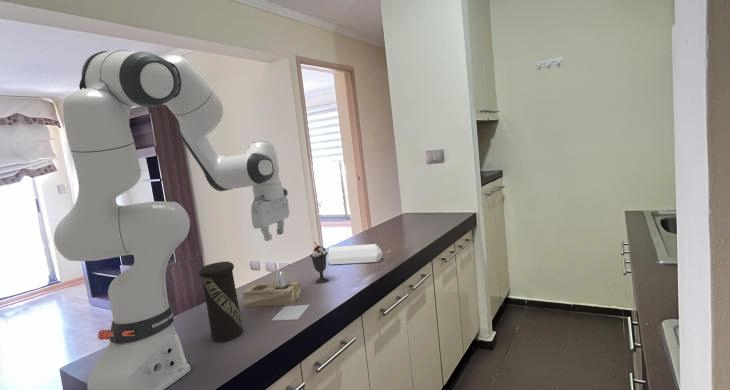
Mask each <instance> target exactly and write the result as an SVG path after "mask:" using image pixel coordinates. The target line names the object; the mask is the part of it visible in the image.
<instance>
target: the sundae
mask: <svg viewBox="0 0 730 390" xmlns="http://www.w3.org/2000/svg"><path fill="white" fill-rule="evenodd" d="M314 244H315V247H314V249H313V251H312V253H311V254H310V255H309V257H310V258H311V260H312V263H313V264H312V265H313V267H314V269H315V271H317V272H318V273H319V279H317V280H315V284H325V283H327V282H329V281H330V279H329V278H325V277H324V274H323V273H324V271H325V270H326V268H327V254H328V251H326V248H325V247H323V246H320V245H318V244H317V242H314Z"/></svg>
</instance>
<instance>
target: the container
mask: <svg viewBox="0 0 730 390" xmlns="http://www.w3.org/2000/svg"><path fill="white" fill-rule="evenodd" d="M234 268H235V265H234V262H233V263H232V261H219V262H213V263H210V264H206V265H204V266H202V267H201V268H200V269H199V271H198V274H199V276H200V277H201V281H202V282H201V283H202V286H203V287H202V288H203V292H204V298H205V303H206V304H205V305H206V310H207V316H208V322H209V329H210V335H211V340H212V342H213V343H227V342H231V341H233V340H236V339H237V338H239V337H240V336H242V334H243V333H244V328H243V321H242V315H241V312H240V311H241V310H240V306H239V300H238V294H237V289H236V288H237V287H236V284H235V278H234V273H233V271H234Z"/></svg>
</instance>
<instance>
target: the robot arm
mask: <svg viewBox="0 0 730 390" xmlns="http://www.w3.org/2000/svg"><path fill="white" fill-rule="evenodd" d="M78 86H79V89H78V90H76V91H73V92H71V93H70V94H68V95H67V96H66V97H65V98H64V100H63V103H62V113H63V114H62V115H63V123H64V128H65V130H64V131H65V135H66V139H67V143H68V147H69V150H70V153H71V158H72V160H73V161H72V162H73V165H74V168H75V171H76V177H77V182H78V194H77V198H76V202H74V205H73V207H72V208H71V209H70V211H69V212H68V213H67V215H65V216H64V217H63V218H62V219H60V221H59V223H58V224H57V225H56V228H55V231H54V234H53V235H54V236H53V242H54V245H55V248H56V250H57V251H58V252H59V254H60V255H61V256H62V257H63V258H65V259H67V260H68V261H70V262H93V261H102V260H107V259H113V258H119V257H124V256H130V255H131V256H133V259H134V261H133V264H132V266H130V267H129V268H126V270H124V271H123V272H121V273H120V274H118V275H117V276H115V278H113V280H112V281H111V282H110V284H109V286H108V289H107V293H108V294H107V295H108V300H109V305H110V310H111V314H112V319H113V320H112V321H111V327H110V329H100V330H99V332H98V333H97V339H98V340H99V341H103V340H105V341H106V340H107V341H108V340H109V343H108V345H107V347H106V349H105V350H104V351H103V353H102V355H100V358H99V359H98V361H97V362H96V364H95V366H94V367H93V368H92V370H91V372H90V373H89V375H88V376H87V386H86V387H87V390H165V389H167V388H168V387H169V386H171V385H173V384H174V383H176V382H177V381H178V380H179V379H181V378H182V377H184V376H185V375H186V374H188V373H190V371H191V370H192V368H191V366H190V364H189V362H188V360H187V358H186V355H185V352H184V349H183V347H182V343H181V340H180V337H179V334H178V333H177V331H176V329H175V327H174V324H173V323H174V321H175V319H174V312H173V309H172V306H171V304H169V298H168V292H167V283H166V281H167V280H166V272H167V267H168V264H169V261H170V258H171V257H172V255H173V254H174V252H175V250H176V249H177V247H178V246H179V245H181V244H182V243H183V242H184V240H185V239H186V238H187V236H188V234H189V232H190V227H191V221H190V216H189V214H188V212H187V211H186V209H185V208H184V207H183V206H182V205H181V204H179V203H178V201H177V202H176V201H163V200H161V201H157V200H155V201H146V202H139V203H134V204H126V205H118V203H117V198H118V197H119V196H121V195H123V194H125V193H126V192H128V191H129V190H131V189H132V188H134V186H136V185H137V184H138V182H139V181H140V179H141V177H142V169H141V165H140V161H139V157H138V154H137V149H136V144H135V141H134V136H133V133H132V129H131V127H130V114H131V112H132V109H133V107H144V108H155V107H158V106H162V105H164V104H165V106H166V107H167V108H168V109H169V110H170V111H171V113H172V114H173V115H174V116H175V118H176V119H177V121H178V124H177V130H178V134H179V136H180V138H181V140H182V141H183V143H184V146H186V148H187V150H188V151H189V152H190V154H191V155H192V157H193V158H194V160H195V161H196V162H197V164H198V165H199V167H200V168H201V170H202V172H203V174H204V176H205V179H206V181H207V183H208V184H209V185H210V187H212V189H214V190H216V191H218V192H225V191H231V190H234V189H240V188H248V187H252V192H253V193H252V194H253V201H252V204H251V208H250V213H251V223H252V227H253V228H254V229H260V232H261V233H262V235H263V237H264V238H263V239H264V241H265V242H269V241H271V240H272V233H270V230H269V229H270V226H271V225H273V224H276V225H277V227H276V234H277V235H284V233H285V232H284V231H285V229H284V226H285V220H286V219H288V218H289V216H290V207H289V200H288V195H289V192H288V191H289V190H288V189H287V188H284V186H282V183H281V182H282V181H281V179H280V175H279V172H280V167H279V161H278V156H277V152H276V149H275V147H274V145H273V144H272V143H270V142H268V141H255V142H251V143H249V144H248V149H247V150H246V151H244V152H243V153H240V154H235V155H227V156H225V155H219V154H218V153H217V152H216V151H215V149H214V147H213V146H212V144H211V142H210V140H209V139H208V137H207V136H208V135H209V134H211V133H212V132H213V131H214V130H215V129H216V128H217V127H218V126H219V125H220V122H221V121H222V118H223V115H224V107H223V103H222V100H221V99H220V97H219V95H218V94H217V93H216V91H215V90H214V88H213V87H212V86H211V85H210V84H209V82H208V81H207V79H205V77H204V76H203V75H202V73H200V71H199V70H197V68H195V67H194V66H193V65H192V63H191V62H190V61H188V60H187V58H185V57H183V56H181V55H179V54H167V55H164V56H159V55H156V54H154V53H151V52H147V51H133V50H128V49H116V50H102V51H99V52H95V53H94V54H91V56H89V57H88V58H87V59H86V60H85V62H84V64H83V66H82V70H81V78H80V81H79V85H78Z"/></svg>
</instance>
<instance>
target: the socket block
mask: <svg viewBox="0 0 730 390" xmlns="http://www.w3.org/2000/svg"><path fill="white" fill-rule="evenodd" d="M286 284H287V289H277V283H276V282H272V283H271V282H269V283H268V282H267V283H254V284H253V285H251V286H250V287H248V288H247V289H246V290H245V291H243V292H242V296H243V303H244V307H245V308H252V307H268V306H269V307H272V306H273V307H274V306H293V305H294V303H295V302H296V301H297V300H298V299H299V298H300V297H301V296H302V291H301V285H300V281H298V280H297V281H286Z"/></svg>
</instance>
